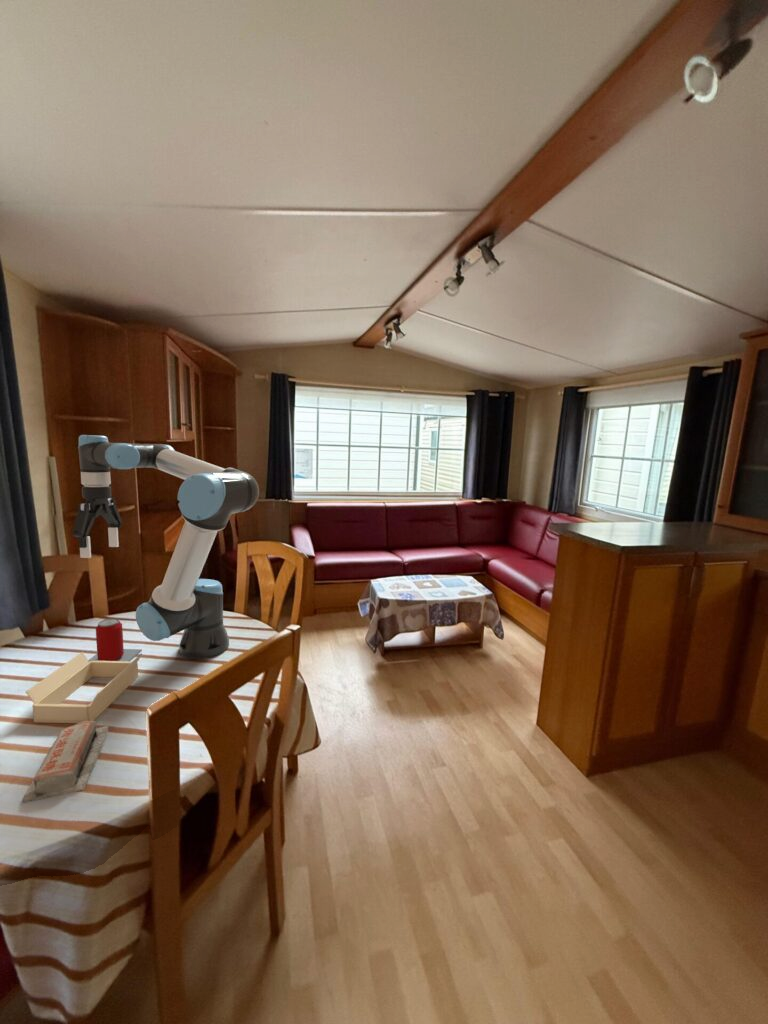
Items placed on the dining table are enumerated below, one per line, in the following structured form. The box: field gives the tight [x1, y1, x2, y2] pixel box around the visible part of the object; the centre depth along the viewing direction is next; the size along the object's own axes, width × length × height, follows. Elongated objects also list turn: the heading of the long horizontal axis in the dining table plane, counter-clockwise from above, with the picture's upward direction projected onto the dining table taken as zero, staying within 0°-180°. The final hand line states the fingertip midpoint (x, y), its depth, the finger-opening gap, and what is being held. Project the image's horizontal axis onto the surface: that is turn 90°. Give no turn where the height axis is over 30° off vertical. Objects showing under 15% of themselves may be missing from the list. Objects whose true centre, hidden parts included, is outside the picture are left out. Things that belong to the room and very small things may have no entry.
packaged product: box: [21, 720, 109, 803], centre depth 86 cm, size 18×5×10 cm
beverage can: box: [95, 617, 125, 661], centre depth 125 cm, size 7×7×12 cm
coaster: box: [88, 648, 143, 662], centre depth 126 cm, size 12×12×1 cm
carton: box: [25, 651, 143, 724], centre depth 107 cm, size 17×21×8 cm
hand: (100, 552), depth 130 cm, fingers open, 13 cm apart
